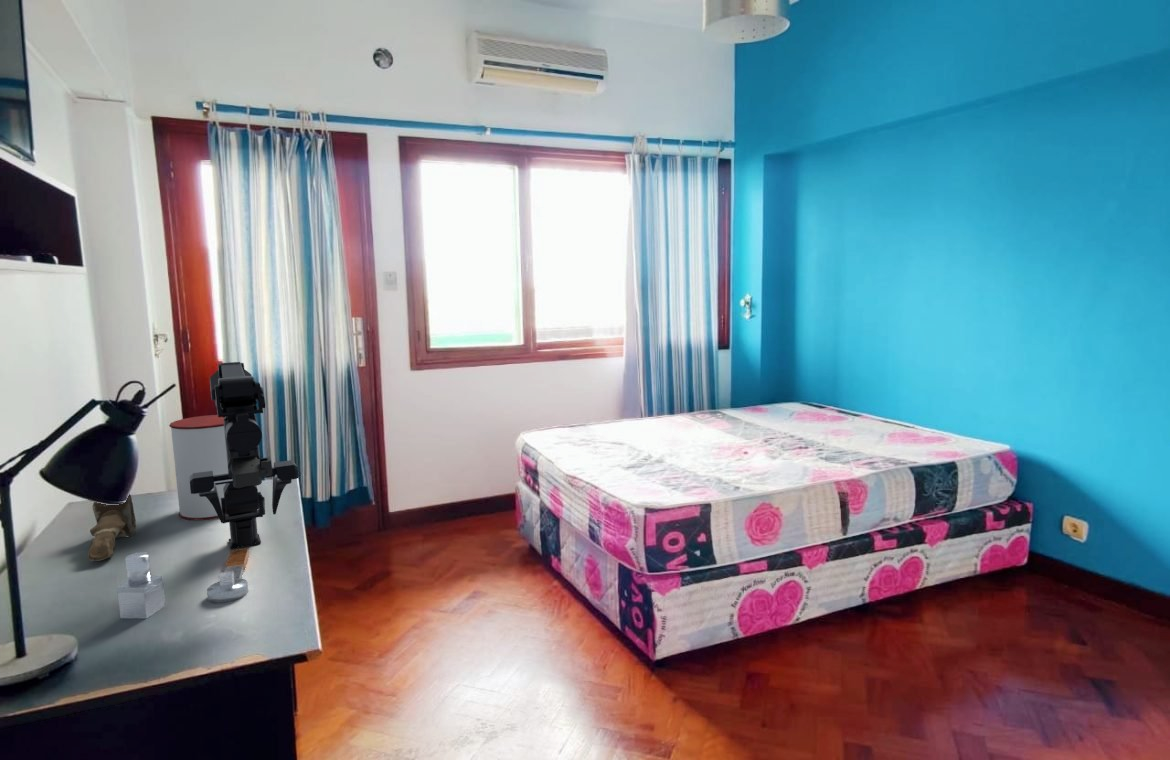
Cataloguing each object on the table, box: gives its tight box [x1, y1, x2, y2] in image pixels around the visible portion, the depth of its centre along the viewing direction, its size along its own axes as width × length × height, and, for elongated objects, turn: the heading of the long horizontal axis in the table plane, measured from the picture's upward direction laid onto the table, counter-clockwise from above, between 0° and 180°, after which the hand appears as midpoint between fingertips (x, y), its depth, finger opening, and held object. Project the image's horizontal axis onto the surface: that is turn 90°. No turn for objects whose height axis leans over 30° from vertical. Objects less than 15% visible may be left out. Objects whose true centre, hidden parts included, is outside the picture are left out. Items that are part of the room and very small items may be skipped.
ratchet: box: [206, 547, 250, 605], centre depth 137 cm, size 23×7×4 cm, turn 21°
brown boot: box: [87, 493, 137, 562], centre depth 156 cm, size 8×22×15 cm
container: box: [169, 414, 228, 521], centre depth 180 cm, size 17×17×25 cm
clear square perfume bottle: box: [116, 551, 166, 620], centre depth 123 cm, size 5×5×11 cm
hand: (248, 518), depth 131 cm, fingers open, 9 cm apart
